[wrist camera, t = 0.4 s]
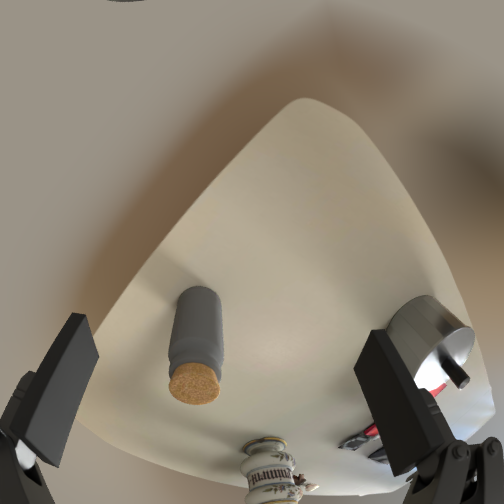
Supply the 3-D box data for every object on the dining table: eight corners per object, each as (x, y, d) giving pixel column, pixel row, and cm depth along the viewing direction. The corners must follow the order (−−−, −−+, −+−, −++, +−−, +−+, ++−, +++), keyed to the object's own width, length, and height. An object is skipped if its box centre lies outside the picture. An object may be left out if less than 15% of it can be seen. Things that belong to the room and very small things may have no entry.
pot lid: (466, 308, 31) (493, 332, 25) (474, 347, 36) (494, 369, 30) (400, 369, 34) (422, 400, 27) (420, 397, 38) (437, 422, 32)
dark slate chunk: (406, 429, 62) (412, 440, 57) (421, 440, 69) (426, 449, 65) (364, 456, 64) (369, 468, 60) (386, 463, 72) (391, 472, 67)
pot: (428, 281, 41) (467, 313, 31) (443, 320, 45) (474, 350, 35) (375, 330, 43) (405, 371, 33) (397, 361, 47) (423, 397, 37)
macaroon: (306, 483, 67) (307, 489, 65) (320, 480, 68) (322, 486, 66) (303, 487, 69) (304, 493, 66) (316, 485, 69) (318, 490, 67)
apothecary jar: (281, 428, 50) (299, 501, 34) (296, 448, 55) (313, 509, 38) (229, 443, 51) (236, 513, 34) (250, 461, 55) (259, 522, 39)
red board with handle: (332, 444, 56) (361, 449, 61) (335, 452, 53) (364, 456, 59) (428, 366, 50) (444, 382, 55) (434, 374, 48) (449, 388, 53)
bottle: (205, 329, 39) (204, 415, 25) (170, 308, 37) (152, 393, 23) (230, 300, 37) (239, 385, 23) (193, 277, 35) (182, 358, 22)
